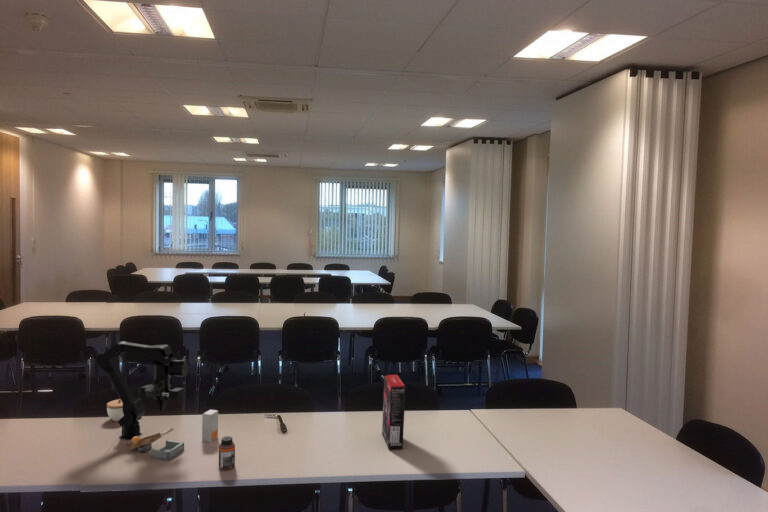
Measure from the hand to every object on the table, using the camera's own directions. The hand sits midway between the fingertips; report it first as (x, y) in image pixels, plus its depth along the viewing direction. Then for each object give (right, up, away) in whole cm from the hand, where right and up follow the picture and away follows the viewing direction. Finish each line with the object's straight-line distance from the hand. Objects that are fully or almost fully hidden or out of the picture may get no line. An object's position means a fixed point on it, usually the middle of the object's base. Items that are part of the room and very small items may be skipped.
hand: (162, 411), depth 219 cm
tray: (+8, -13, -14) cm, 20 cm away
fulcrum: (-2, -13, -11) cm, 17 cm away
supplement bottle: (+35, -14, -24) cm, 45 cm away
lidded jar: (-29, -10, +22) cm, 38 cm away
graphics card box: (+99, -15, +4) cm, 100 cm away
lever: (-1, -9, -8) cm, 12 cm away
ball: (-6, -9, -10) cm, 15 cm away
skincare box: (+20, -13, +1) cm, 24 cm away
